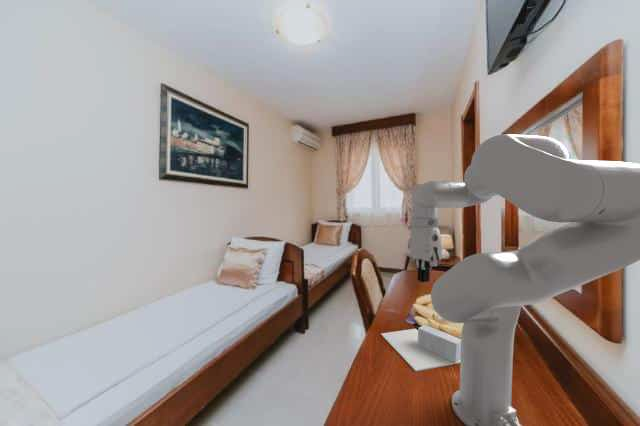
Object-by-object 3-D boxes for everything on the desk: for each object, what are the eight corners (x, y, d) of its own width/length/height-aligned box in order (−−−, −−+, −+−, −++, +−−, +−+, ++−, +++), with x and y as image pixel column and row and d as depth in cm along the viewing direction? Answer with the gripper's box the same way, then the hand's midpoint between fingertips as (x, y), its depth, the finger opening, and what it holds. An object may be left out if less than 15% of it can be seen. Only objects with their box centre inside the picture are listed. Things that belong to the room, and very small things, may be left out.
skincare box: (423, 340, 84) (461, 358, 74) (417, 345, 81) (455, 364, 72) (424, 323, 83) (462, 339, 74) (417, 327, 81) (456, 344, 71)
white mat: (462, 362, 73) (462, 361, 73) (415, 371, 69) (415, 370, 69) (419, 329, 92) (419, 328, 92) (380, 334, 88) (380, 333, 88)
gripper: (452, 225, 71) (451, 288, 71) (419, 221, 85) (418, 273, 86) (430, 225, 69) (429, 290, 69) (400, 222, 83) (399, 275, 84)
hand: (423, 281), depth 78 cm, fingers closed
